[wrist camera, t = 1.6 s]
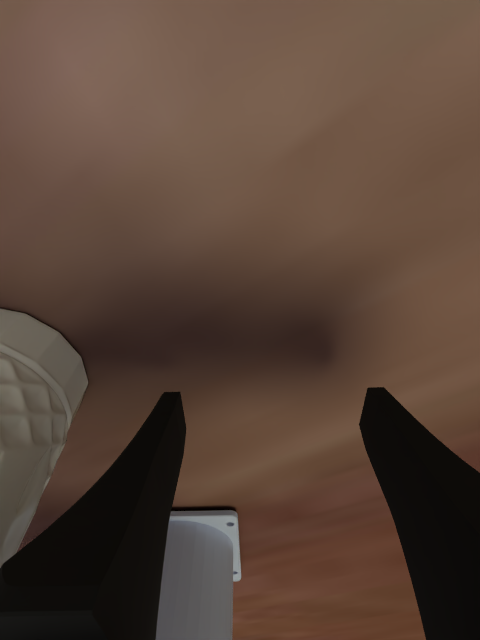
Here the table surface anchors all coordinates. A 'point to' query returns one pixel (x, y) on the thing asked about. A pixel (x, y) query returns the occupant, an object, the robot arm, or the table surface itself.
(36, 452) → the white cup
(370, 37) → the table surface
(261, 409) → the table surface
